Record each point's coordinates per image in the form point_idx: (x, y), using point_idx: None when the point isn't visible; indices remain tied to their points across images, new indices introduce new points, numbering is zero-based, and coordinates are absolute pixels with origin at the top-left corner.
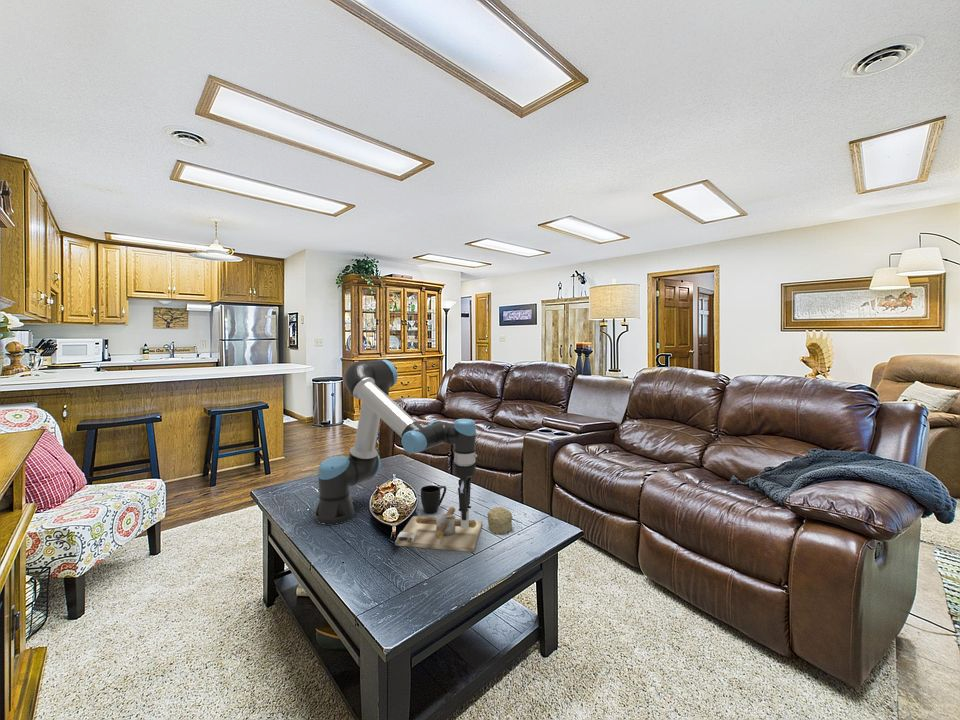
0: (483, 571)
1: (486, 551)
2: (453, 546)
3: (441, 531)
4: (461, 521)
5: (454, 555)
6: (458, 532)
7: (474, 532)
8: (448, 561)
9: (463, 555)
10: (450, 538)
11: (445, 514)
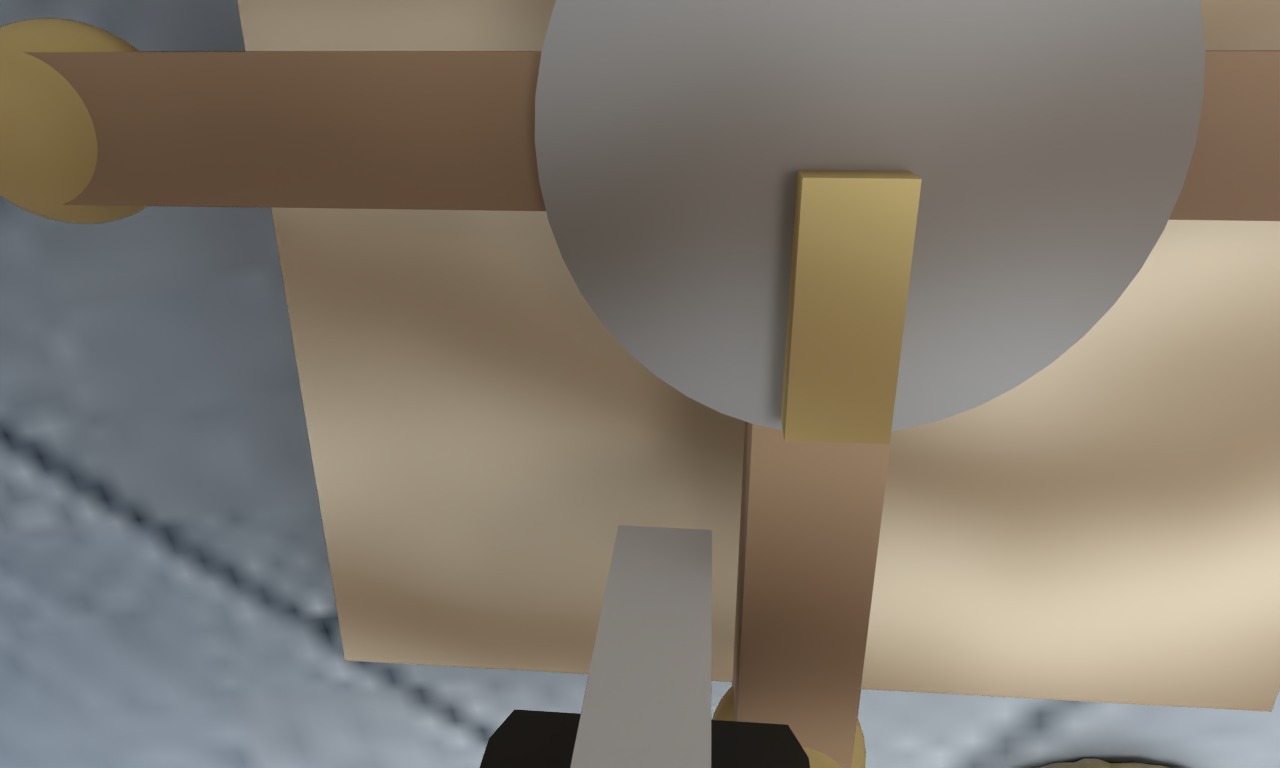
0: (16, 745)
1: (434, 753)
2: (303, 367)
3: (99, 183)
4: (599, 639)
5: (203, 384)
6: None
7: None
8: (23, 329)
9: (248, 503)
10: (544, 265)
11: (1133, 61)
